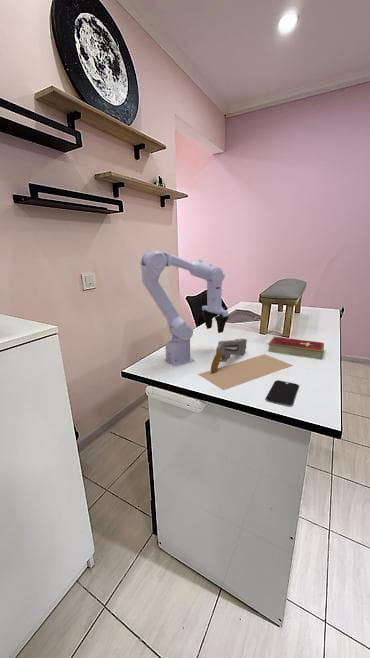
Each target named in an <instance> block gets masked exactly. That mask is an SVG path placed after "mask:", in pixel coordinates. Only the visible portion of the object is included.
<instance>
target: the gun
mask: <svg viewBox="0 0 370 658" xmlns="http://www.w3.org/2000/svg"><path fill="white" fill-rule="evenodd" d="M247 342H248V340H247V339H246V338H235V339H231V340H230V339H229V340H220V341H218V343H217V347H216V349H215V354H214V357H213V359H212V362H211V365H210V370H211V372H214V373H215V372H217V369H218V368H219V365H220V363H221V362H222V363H227V362H228V360H229V359H231V357H232V356H237V355H238V356H239V355H240V356H244V355H245V353H246V349H247Z"/></svg>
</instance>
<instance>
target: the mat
mask: <svg viewBox="0 0 370 658" xmlns="http://www.w3.org/2000/svg"><path fill="white" fill-rule="evenodd" d="M293 366H294V365H293V364H291V363H288V362H286V361H283V360H281V359H278V358H275V357H272V356H269V355H267V354H265V353H264V354H261V355H257V356H255V357H251V358H247V359H244V360H241V361H237V362H234V363H231V364H227V365H224V366H220V367H218V369H217V372H215V373H214V372H211V369H210V370H207V371H204V372H200V373H198V374H197V375H198V376H200V377H201V378H204V379H205V380H206V381H208V382H210V383H211V384H213V385H214V386H216V387H218V388H219V389H220V390H223V391H225V390H228V389H231V388H233V387H236V386H240V385H242V384H245V383H247V382H250V381H254V380H256V379H260V378H261V377H265V376H267V375H271V374H273V373H275V372H279V371H281V370H284V369H287V368H290V367H293Z"/></svg>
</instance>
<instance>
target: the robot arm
mask: <svg viewBox="0 0 370 658" xmlns="http://www.w3.org/2000/svg"><path fill="white" fill-rule="evenodd" d="M139 264H140V268H141V282H142V284H143V286H144V287H145V289H146V290H147V292H148V293H149V295H150V297H151V298H152V299H153V301H154V303H155V304H156V306H157V307H158V309H159V310H160V312H161V314H162V315H163V317H164V319H166V321H167V322H166V324H167V325H168V328H169V329H168V330H169V333H170V334H171V340H169V341H167V342H165V359H164V360H165V361H166V362H168V363H170V364H171V365H172V366H174V367H176V366H177V367H178V366H181V365H184V364H188V363H191V362H195V360H196V359H195V358H193V357H191V338H193V334H194V330H193V328H192V326H190V325H189V324H187V323H186V321H185V320H184V319H183V318H182V317H181V316H180V314H179V313H178V311H177V309H176V308H175V306H174V305H173V303H172V302H171V300H170V298H169V297H168V295H167V293H166V291H165V290H164V289H163V287H162V285H161V283H160V282H159V279H160V276H161V274H162V272H163V271H164V270H165V268H166V267H168V268H169V267H171V266H174V267H176V268H179V269H183V270H185V271H186V270H187V271H189V274H190V275H191V276H193V277H195V278H199V279H202V280H205V282H206V299H207V302H206V303H207V305H202V306H201V310H202V311H203V312H201V313H200V315H201V316H202V318H203V320H204V323H205V327H206V329H207V330H209V329H212V328H213V318H214V319H215V321H216V326H217V333H218V334H221V333H224V330H225V326H226V323H227V321H228V319H229V317H230V315H229V311H228V310H225V308H224V307H223V306H222V304H223V303H222V300H223V299H222V295H223V294H222V292H223V291H222V286H223V281H224V279H225V276H226V275H225V274H224V271H223V270H222V269H221V267H213V266H214V265H213V264H210V263H209V264H207V263H205V262H203V260H201V259H198V260H197V259H196V260H194V261H192V262H191V261H189V260H187V259H184V258H181V257H180V256H177V255H174V254H172V253H168V252H162V251H160V250H159V251H158V250H157V251H153V250H152V251H146V252H145V253H144V254H143V255H142V258H141V261H140V263H139ZM214 314H216V316H215V315H214Z"/></svg>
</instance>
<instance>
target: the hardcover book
mask: <svg viewBox="0 0 370 658" xmlns="http://www.w3.org/2000/svg"><path fill="white" fill-rule="evenodd" d="M267 345H268V352H270V353H271V352H272V353H277V354H278V353H279V354H286V355H292V356H298V357H305V358H310V359H315V360H316V359H317V360H321V357H322V353H323V351H324V348H325V342H320V341H319V342H318V341H314V340H313V341H312V340H304V339H296V338H288V337H280V336H273V337H272V338H271V340H269V342H268V343H267Z"/></svg>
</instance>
